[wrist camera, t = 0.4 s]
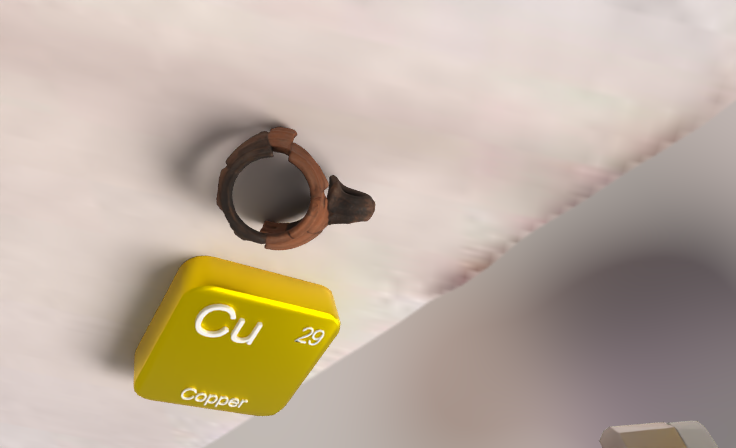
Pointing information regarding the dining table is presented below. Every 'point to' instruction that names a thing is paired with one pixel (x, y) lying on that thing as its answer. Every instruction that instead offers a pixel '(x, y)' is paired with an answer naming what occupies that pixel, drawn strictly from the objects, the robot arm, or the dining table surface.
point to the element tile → (233, 338)
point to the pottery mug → (322, 211)
